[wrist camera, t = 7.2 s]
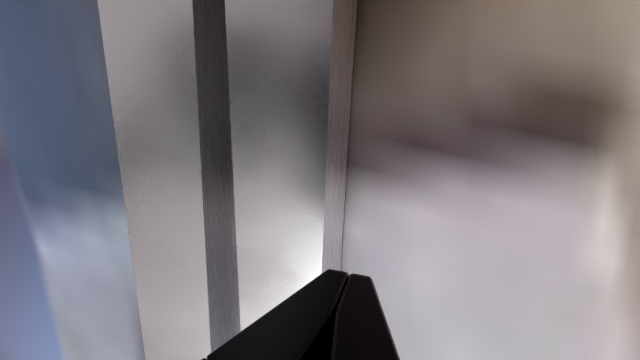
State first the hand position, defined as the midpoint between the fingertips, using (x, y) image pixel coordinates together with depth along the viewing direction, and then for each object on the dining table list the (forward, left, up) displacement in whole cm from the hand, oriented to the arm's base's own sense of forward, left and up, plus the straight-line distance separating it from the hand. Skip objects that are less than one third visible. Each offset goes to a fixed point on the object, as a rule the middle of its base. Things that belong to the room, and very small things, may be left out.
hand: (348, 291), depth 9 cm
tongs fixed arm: (-5, +1, -4) cm, 6 cm away
